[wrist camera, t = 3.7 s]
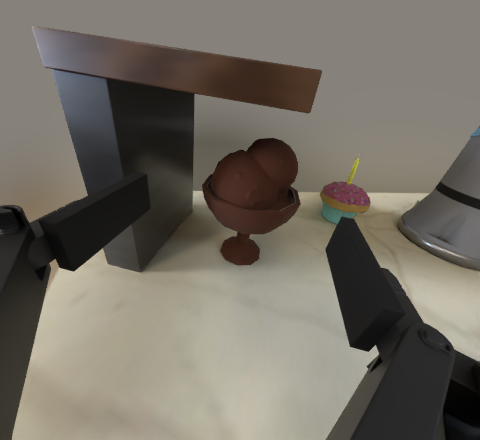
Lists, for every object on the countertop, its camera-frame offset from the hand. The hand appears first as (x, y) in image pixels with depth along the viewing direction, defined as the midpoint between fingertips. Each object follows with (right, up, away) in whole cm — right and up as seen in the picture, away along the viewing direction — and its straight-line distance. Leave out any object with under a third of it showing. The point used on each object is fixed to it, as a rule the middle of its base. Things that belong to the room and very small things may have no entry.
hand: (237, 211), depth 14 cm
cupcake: (+19, 0, +26) cm, 32 cm away
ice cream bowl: (0, -5, +14) cm, 15 cm away
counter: (-5, -4, +15) cm, 16 cm away
